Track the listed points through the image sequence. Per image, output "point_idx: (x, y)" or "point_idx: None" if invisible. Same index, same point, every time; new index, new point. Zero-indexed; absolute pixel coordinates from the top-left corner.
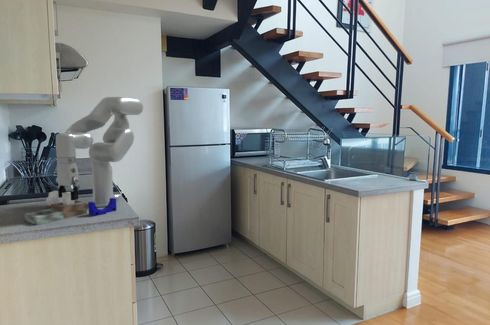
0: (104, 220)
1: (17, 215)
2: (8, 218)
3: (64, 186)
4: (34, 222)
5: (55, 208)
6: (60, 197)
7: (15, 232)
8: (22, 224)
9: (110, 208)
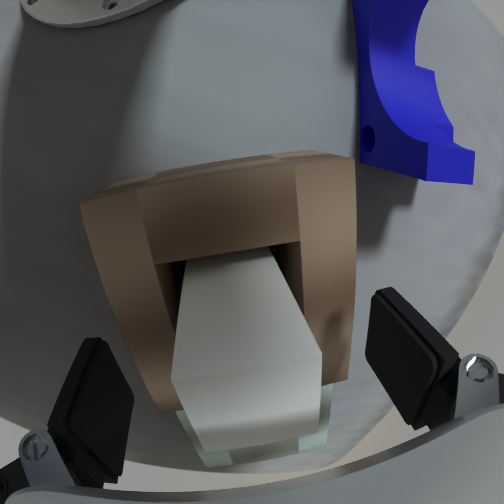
0: (500, 182)
1: None
2: None
3: (70, 468)
4: None
5: None
6: (126, 388)
7: (339, 455)
8: None
9: (411, 19)
